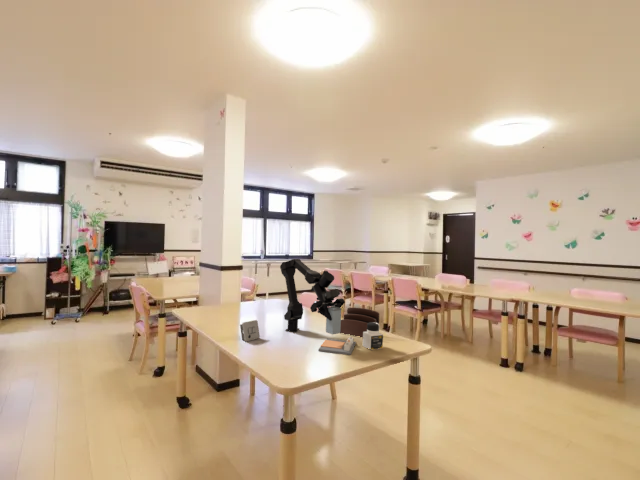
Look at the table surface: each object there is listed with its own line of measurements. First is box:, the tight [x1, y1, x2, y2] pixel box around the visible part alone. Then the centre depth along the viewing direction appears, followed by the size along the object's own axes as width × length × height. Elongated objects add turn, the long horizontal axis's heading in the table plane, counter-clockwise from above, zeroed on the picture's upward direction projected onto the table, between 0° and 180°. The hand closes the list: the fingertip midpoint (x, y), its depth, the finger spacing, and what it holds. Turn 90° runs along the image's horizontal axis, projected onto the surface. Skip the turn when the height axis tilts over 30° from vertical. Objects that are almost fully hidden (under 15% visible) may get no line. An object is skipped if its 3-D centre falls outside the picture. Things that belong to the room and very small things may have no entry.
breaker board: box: [318, 336, 357, 356], centre depth 160 cm, size 18×15×4 cm
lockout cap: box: [325, 306, 343, 336], centre depth 161 cm, size 5×5×12 cm
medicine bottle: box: [362, 322, 384, 351], centre depth 162 cm, size 7×7×12 cm
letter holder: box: [339, 307, 380, 338], centre depth 185 cm, size 10×20×14 cm, turn 59°
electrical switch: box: [239, 319, 261, 342], centre depth 168 cm, size 9×5×9 cm, turn 141°
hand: (335, 319), depth 160 cm, fingers closed on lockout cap, 5 cm apart
